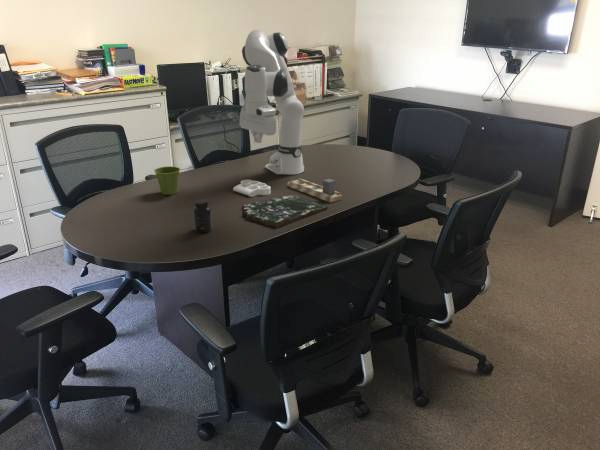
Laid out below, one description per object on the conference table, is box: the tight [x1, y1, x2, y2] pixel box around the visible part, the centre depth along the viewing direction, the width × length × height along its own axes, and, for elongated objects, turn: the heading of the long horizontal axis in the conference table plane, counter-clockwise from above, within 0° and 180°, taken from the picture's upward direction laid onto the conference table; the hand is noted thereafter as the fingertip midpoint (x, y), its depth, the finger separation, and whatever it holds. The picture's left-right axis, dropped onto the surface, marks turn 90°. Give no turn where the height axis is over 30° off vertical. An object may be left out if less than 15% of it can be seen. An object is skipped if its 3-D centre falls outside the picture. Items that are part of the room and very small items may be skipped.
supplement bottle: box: [192, 199, 213, 234], centre depth 196 cm, size 7×7×12 cm
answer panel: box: [287, 177, 343, 203], centre depth 240 cm, size 30×7×3 cm, turn 41°
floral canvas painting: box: [241, 193, 328, 229], centre depth 218 cm, size 26×33×3 cm
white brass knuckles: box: [232, 179, 272, 198], centre depth 241 cm, size 3×18×15 cm
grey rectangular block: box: [322, 178, 336, 195], centre depth 231 cm, size 4×4×6 cm
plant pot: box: [153, 165, 181, 196], centre depth 236 cm, size 12×12×11 cm
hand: (257, 142), depth 208 cm, fingers closed
